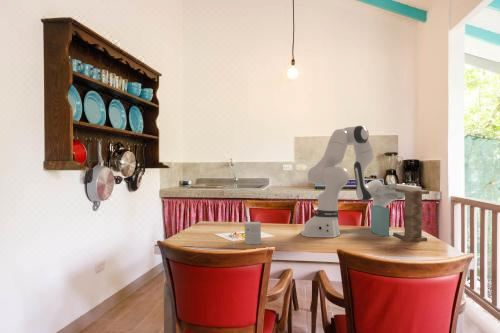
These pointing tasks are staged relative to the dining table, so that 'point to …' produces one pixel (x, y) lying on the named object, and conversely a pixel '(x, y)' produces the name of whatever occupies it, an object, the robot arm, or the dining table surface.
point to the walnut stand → (412, 216)
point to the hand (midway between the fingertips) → (399, 184)
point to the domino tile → (408, 187)
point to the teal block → (380, 220)
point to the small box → (252, 232)
